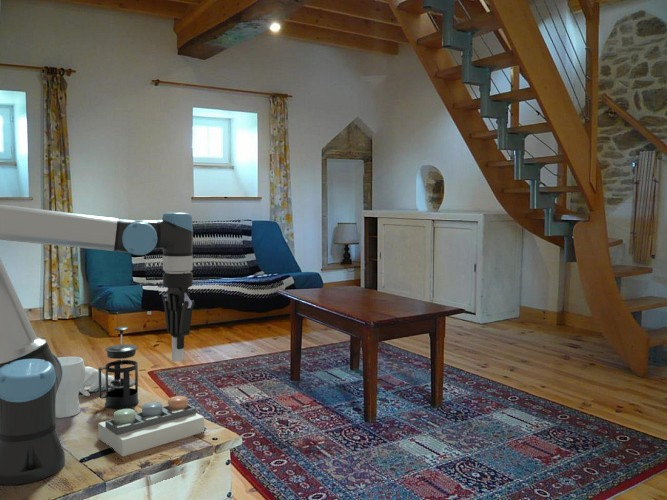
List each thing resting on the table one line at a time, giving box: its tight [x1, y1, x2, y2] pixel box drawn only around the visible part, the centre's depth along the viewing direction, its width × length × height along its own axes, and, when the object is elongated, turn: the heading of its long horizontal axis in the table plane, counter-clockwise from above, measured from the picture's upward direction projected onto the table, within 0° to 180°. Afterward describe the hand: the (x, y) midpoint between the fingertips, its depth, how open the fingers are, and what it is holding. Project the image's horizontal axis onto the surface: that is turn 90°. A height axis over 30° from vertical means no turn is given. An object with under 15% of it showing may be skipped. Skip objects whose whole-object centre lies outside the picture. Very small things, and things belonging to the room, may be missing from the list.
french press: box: [98, 326, 140, 410], centre depth 166 cm, size 12×9×23 cm
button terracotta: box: [167, 395, 189, 410], centre depth 150 cm, size 5×5×2 cm
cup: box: [55, 356, 86, 419], centre depth 158 cm, size 11×11×15 cm
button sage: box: [113, 408, 136, 424], centre depth 139 cm, size 5×5×2 cm
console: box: [97, 403, 205, 457], centre depth 145 cm, size 22×14×6 cm, turn 135°
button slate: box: [141, 401, 163, 417], centre depth 145 cm, size 5×5×2 cm
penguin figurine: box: [79, 366, 114, 397], centre depth 177 cm, size 6×8×12 cm
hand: (177, 360), depth 149 cm, fingers closed
